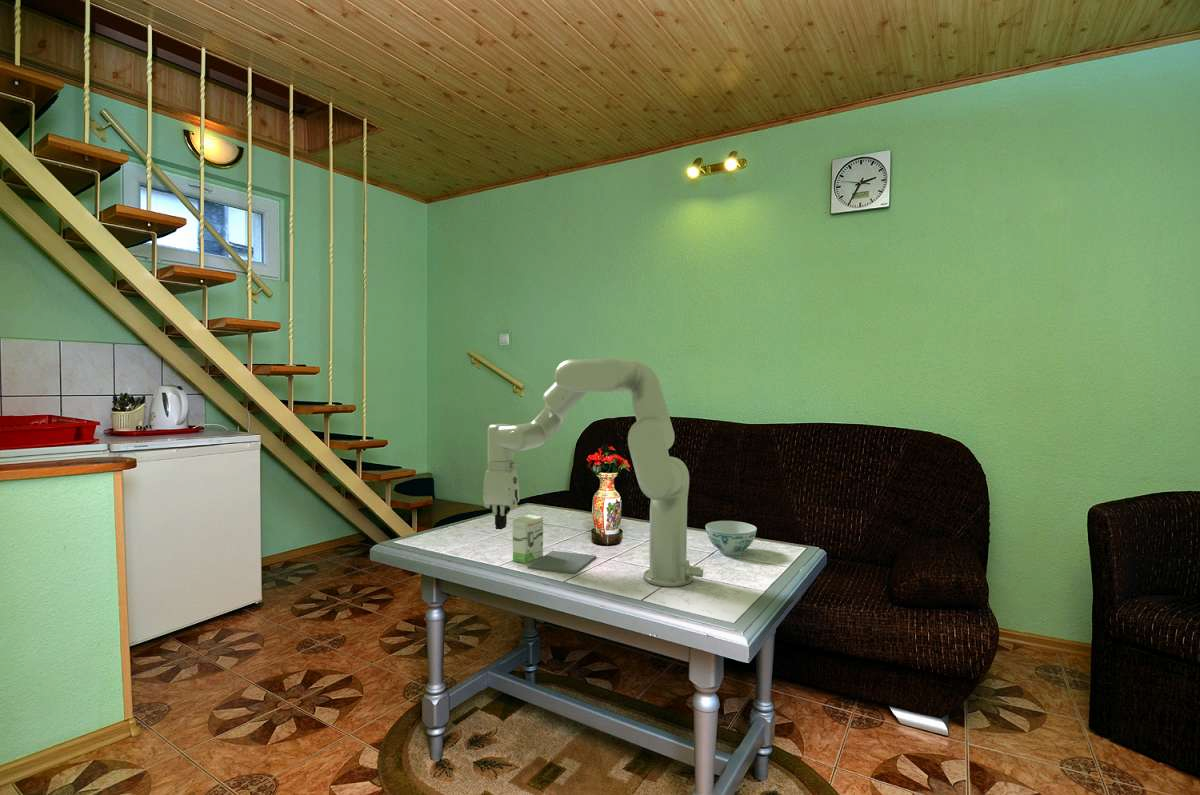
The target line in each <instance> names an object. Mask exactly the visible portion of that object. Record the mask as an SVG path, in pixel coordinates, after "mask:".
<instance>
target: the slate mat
mask: <svg viewBox="0 0 1200 795" xmlns="http://www.w3.org/2000/svg"><path fill="white" fill-rule="evenodd" d="M596 558H597V555H594V554H586V553H585V554H584V553H575V552H569V551H568V552H567V551H559V550H551V551H550V552H548V553H546V554H544V555H543V556H542V557H539V558H537V560H535V561H534V562H532V563H531V564H529V565H528V566H527V569H531V570H532V569H533V570H540V571H545V572H555V573H564V574H570V573H571V574H572V575H576V574H577V573H578V572H580V571H581V570H582V569H583V568H585V566H587V565H588V564H590V563H591V562H592V561H594V560H595V559H596Z"/></svg>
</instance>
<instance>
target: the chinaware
mask: <svg viewBox="0 0 1200 795" xmlns="http://www.w3.org/2000/svg"><path fill="white" fill-rule="evenodd" d="M757 530H758V528H757V527H756V526H755V525H753V524H750V523H747V522H743V521H735V520H717V521H711V522H708V523H706V524H705V532H706V534H707V538H708V539H709V541H710V543H711V544H712V545H713V546H714V547H715V548H717V549H718V551H719V553H720V554H722V555H725V556H734V557H735V556H740V555H742V554H743V551H744V550H746V549H747V548H749V547H750V545H751V544H752V543H753V542H754V540H755V537H756V534H757Z"/></svg>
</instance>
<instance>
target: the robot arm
mask: <svg viewBox="0 0 1200 795" xmlns="http://www.w3.org/2000/svg"><path fill="white" fill-rule="evenodd" d="M554 380H555V382H554V383H553V384H552V385H551V386H550V387H549V388H548V389H547V390H546V391H544V394H542V399H543V402H544V407H543V409H542V410H541V412H540V413H538V415H537V416H536V417H535V418H534V419H533V420H532V421H531V422H527V423H521V424H520V423H519V424H514V425H511V423H492V424H489V426H488V427H487V470H485V473H484V474H485V475H484V479H483V488H482V491H483V492H482V500H483V507H485V508H486V509H489V510H491V512H492V515H493V516H494V526H495V530H503V529H505V528H506V527H507V524H508V523H507V522H508V520H507V519H508V518H507V517H508V516H507V515H509V513H510V511H515V510H517V509H518V508H519V506H518V505H519V504H518V503H519V502H520V499H521V498H520V484H519V483H520V482H519V477H518V473H517V470H516V469H517V467H518V463H517V462H515V459H514V457H515V456H514V453H515V452H522V451H527V450H532V449H537V448H539V447H540V446H542V445H543V444H545V443H546V442H548V441H549V439H551V437H552V436H554V434H555V433H557V431H558V430H559V429H560V427H561V425H562V424H563V422H564V420H565V418H566V416H567V414H568V413H569V412H570V411H571V410H572V409H573V408H574V407H576V405H577V404H578V403H579V402H580V401H581V400H582V399H583V398H584V397H585V396H587V394H588V393H589V392H590V393H591V392H592V393H593V392H595V393H600V392H601V393H604V392H605V393H614V392H615V393H616V392H617V393H618V392H628V393H630V395H631V404H632V408H633V412H634V415H635V418H636V419H635V420H636V421H635V422H634V423H633V424H632V425H631V427H630V429H629V431H628V433H627V434H628V435H627V446H628V451H629V453H630V458H631V461H632V465H633V469H634V472H635V476H636V479H637V483H638V485H639V488H640V490H641V492H642V493H643V494H644V495H645V496H646V497H647V498H649V499H650V504H649V569H646V570H645V571H644V572H643V579H644V580H645V581H646V582H647V583H649V584H652V585H655V586H660V587H669V588H670V587H671V588H672V587H682V586H686V585H688V584H691V582H693V577H697V578H703V577H704V569H701V567H700V566H692V565H691V564H690V560H689V559H688V560H687V556H688V554H687V550H688V549H687V541H688V540H687V539H688V538H687V537H688V536H687V535H688V534H687V533H688V532H687V530H688V528H687V526H688V523H687V522H688V499H689V498H688V496H689V488H690V474H689V473H690V472H689V470H688V467H687V465H686V464H685V463H684V461H682V460H681V459H680V458H678V457H674V456H670V454H669V449H671V448H672V446H673V445H674V442H675V438H676V437H675V435H676V434H675V431H674V428H673V425H672V421H671V418H670V414H669V410H668V407H667V404H666V400H665V396H664V393H663V391H662V386H661V383H660V380H659V377H658V376H657V373H655V371H654V370H653V369H652V368H651V367H650V366H649V365H647V364H646V363H642V362H640V361H637V360H631V359H622V358H621V359H620V358H585V359H584V358H581V359H580V358H579V359H578V358H577V359H576V358H568V359H566V360H564V361H563V360H562V362H561V363H559V365H558V366H557V367H556V368H555V372H554Z"/></svg>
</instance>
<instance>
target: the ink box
mask: <svg viewBox="0 0 1200 795" xmlns="http://www.w3.org/2000/svg"><path fill="white" fill-rule="evenodd" d="M543 556H544V517H543V516H538V515H533V514H527V515H525V516H521V517H518V518H514V519H513V520H512V562H518V563H523V564H527V563H530V562H531V561H534V560H535V561H536V559H537V560H538V559H540V558H542V557H543Z"/></svg>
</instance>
